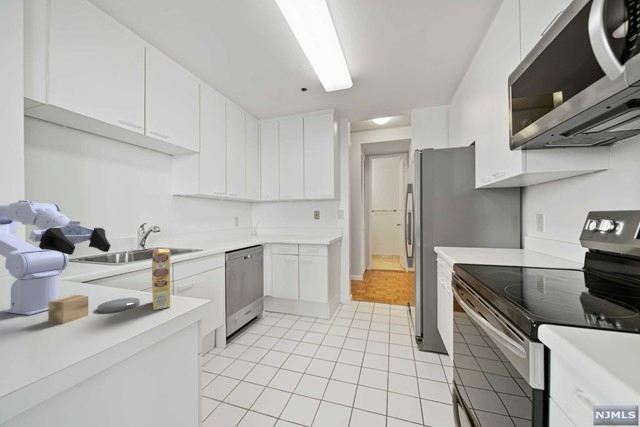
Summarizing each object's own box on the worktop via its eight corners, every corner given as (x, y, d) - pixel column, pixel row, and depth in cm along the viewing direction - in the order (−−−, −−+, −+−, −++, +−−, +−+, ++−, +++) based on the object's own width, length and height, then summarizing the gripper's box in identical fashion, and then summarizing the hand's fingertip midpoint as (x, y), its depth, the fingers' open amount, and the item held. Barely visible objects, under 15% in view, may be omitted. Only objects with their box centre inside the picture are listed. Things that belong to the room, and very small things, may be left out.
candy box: (170, 307, 67) (170, 251, 68) (151, 311, 65) (152, 252, 65) (169, 298, 75) (169, 248, 75) (152, 301, 72) (152, 249, 73)
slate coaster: (88, 311, 65) (88, 307, 65) (122, 300, 74) (123, 296, 74) (114, 314, 63) (114, 310, 63) (147, 302, 72) (147, 298, 72)
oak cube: (48, 322, 59) (48, 301, 59) (73, 314, 63) (73, 294, 64) (63, 324, 57) (63, 302, 58) (88, 315, 62) (88, 295, 62)
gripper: (25, 211, 58) (59, 235, 54) (95, 214, 72) (126, 234, 68) (15, 238, 58) (48, 264, 55) (87, 236, 72) (117, 257, 69)
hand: (91, 249), depth 62 cm, fingers open, 7 cm apart
